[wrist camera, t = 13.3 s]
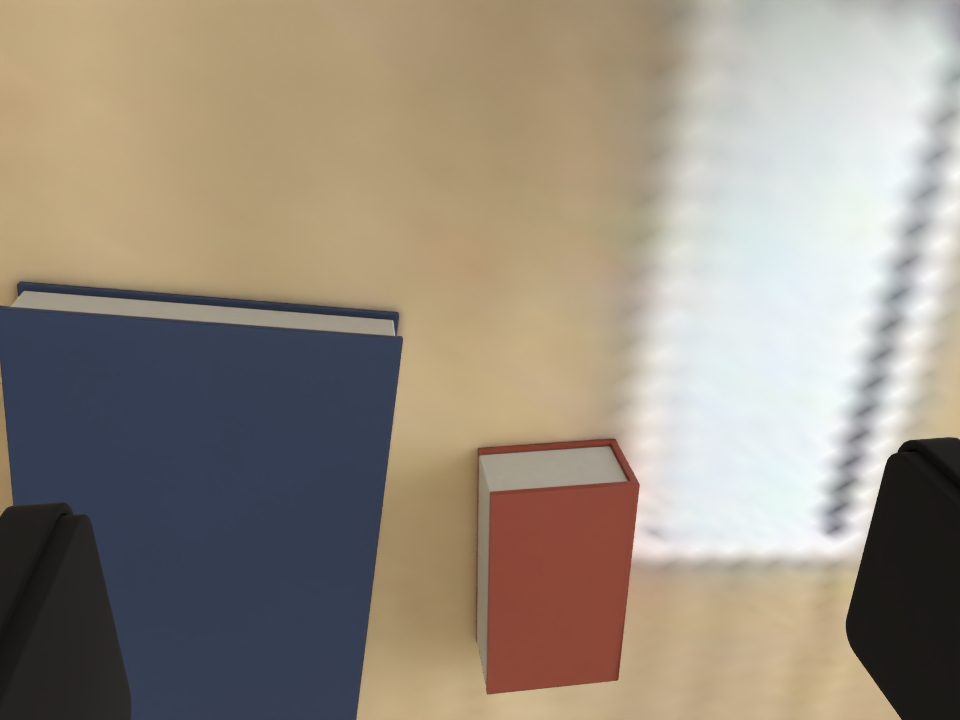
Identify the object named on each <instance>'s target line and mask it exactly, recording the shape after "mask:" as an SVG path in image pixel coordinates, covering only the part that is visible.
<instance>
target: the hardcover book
mask: <svg viewBox="0 0 960 720" xmlns="http://www.w3.org/2000/svg"><path fill="white" fill-rule="evenodd" d="M17 288H18V298H17V299H16V300H15V302H14V303H13V304H12V305H11V306H10V307H7V306H0V364H1V375H2V386H3V397H4V408H5V419H6V430H7V440H8V451H9V462H10V473H11V484H12V495H13V506H20V505H34V504H47V503H61V502H65V503H67V504H68V505H69V506H70V508H71V509H72V512H73V515H80V514H85V515H87V516H88V517H89V519H90V521H91V524H92V527H93V532H94V536H95V540H96V545H97V549H98V553H99V558H100V562H101V566H102V571H103V575H104V579H105V584H106V588H107V592H108V597H109V601H110V605H111V610H112V614H113V619H114V623H115V627H116V632H117V636H118V640H119V645H120V649H121V653H122V658H123V662H124V666H125V671H126V675H127V679H128V684H129V688H130V693H131V703H132V710H131V720H356V717H357V709H358V701H359V693H360V685H361V676H362V668H363V660H364V652H365V644H366V636H367V628H368V619H369V611H370V603H371V595H372V587H373V579H374V571H375V562H376V554H377V546H378V538H379V530H380V522H381V514H382V506H383V497H384V489H385V481H386V473H387V465H388V457H389V449H390V440H391V432H392V424H393V416H394V408H395V400H396V392H397V384H398V375H399V367H400V359H401V351H402V343H403V338H402V336H397V328H398V320H399V313H398V312H386V311H374V310H361V309H349V308H337V307H325V306H312V305H300V304H288V303H275V302H263V301H251V300H239V299H226V298H214V297H202V296H189V295H177V294H165V293H152V292H140V291H128V290H116V289H103V288H91V287H79V286H66V285H54V284H42V283H30V282H19V283H18V284H17Z"/></svg>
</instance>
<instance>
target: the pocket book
mask: <svg viewBox="0 0 960 720" xmlns="http://www.w3.org/2000/svg"><path fill="white" fill-rule="evenodd" d="M639 485H640V484H639V482H638V480H637V479H636V477H635V475H634V473H633V471H632V469H631V467H630V466H629V464H628V462H627V460H626V458H625V456H624V454H623V453H622V451H621V449H620V447H619V445H618V443H617V442H616V440H615V439H607V440H592V441H578V442H563V443H549V444H534V445H520V446H505V447H491V448H478V501H477V593H476V640H477V643H478V648H479V653H480V658H481V663H482V668H483V673H484V678H485V684H486V692H487V694H496V693H505V692H515V691H524V690H533V689H543V688H552V687H561V686H571V685H580V684H589V683H599V682H608V681H617V680H618V677H619V668H620V659H621V650H622V640H623V631H624V622H625V613H626V604H627V595H628V586H629V576H630V567H631V558H632V549H633V540H634V531H635V522H636V512H637V503H638V494H639Z"/></svg>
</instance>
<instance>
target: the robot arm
mask: <svg viewBox="0 0 960 720" xmlns="http://www.w3.org/2000/svg"><path fill="white" fill-rule="evenodd" d="M846 633H847V637H848V641H849V643H850V646H851V648H852V650H853V651H854V653H855V654H856V656H857V657H858V659H859V660H860V661H861V663H862V664H863V666H864V667H865V668H866V670H867V671H868V673H869V674H870V676H871V677H872V678H873V680H874V681H875V683H876V684H877V685H878V687H879V688H880V690H881V691H882V692H883V694H884V695H885V697H886V698H887V699H888V701H889V702H890V704H891V705H892V707H893V708H894V709H895V711H896V712H897V714H898V715H899V716H900V718H901V719H902V720H960V440H959V439H958V438H951V437H947V438H934V439H920V440H909V441H907V442H905V443H903V444H902V446H901V447H900V448H899V450H898V452H897V453H895V454H893V455H891V456H890V457H889V458H888V460H887V463H886V466H885V470H884V473H883V477H882V481H881V485H880V489H879V493H878V497H877V501H876V505H875V509H874V513H873V517H872V520H871V524H870V528H869V532H868V536H867V540H866V544H865V548H864V552H863V556H862V560H861V564H860V568H859V571H858V575H857V579H856V583H855V587H854V591H853V595H852V599H851V603H850V607H849V611H848V615H847V619H846ZM131 710H132V703H131V693H130V688H129V684H128V679H127V675H126V671H125V666H124V662H123V658H122V653H121V649H120V645H119V640H118V636H117V632H116V627H115V623H114V619H113V614H112V610H111V605H110V601H109V597H108V592H107V588H106V584H105V579H104V575H103V571H102V566H101V562H100V558H99V553H98V549H97V545H96V540H95V536H94V532H93V527H92V524H91V521H90V519H89V517H88V516H87V515H85V514H80V515H73V512H72V509H71V508H70V506H69V505H68V504H67V503H65V502H61V503H47V504H34V505H20V506H11V507H8V508H7V509H6V510H5V511H4V512H3V514H2V515H1V517H0V720H131Z"/></svg>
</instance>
